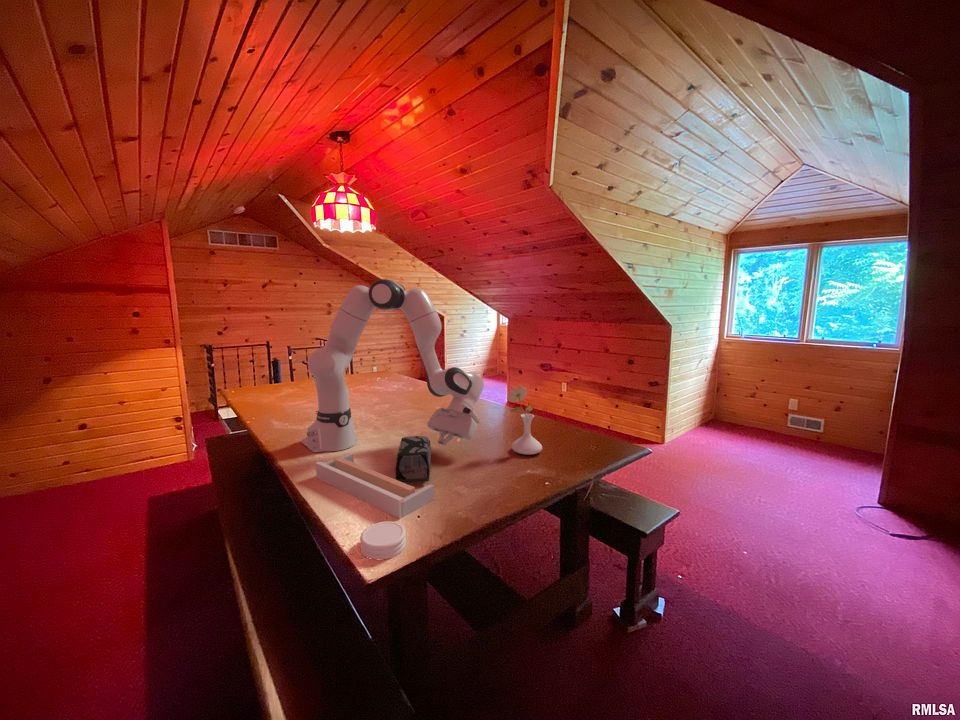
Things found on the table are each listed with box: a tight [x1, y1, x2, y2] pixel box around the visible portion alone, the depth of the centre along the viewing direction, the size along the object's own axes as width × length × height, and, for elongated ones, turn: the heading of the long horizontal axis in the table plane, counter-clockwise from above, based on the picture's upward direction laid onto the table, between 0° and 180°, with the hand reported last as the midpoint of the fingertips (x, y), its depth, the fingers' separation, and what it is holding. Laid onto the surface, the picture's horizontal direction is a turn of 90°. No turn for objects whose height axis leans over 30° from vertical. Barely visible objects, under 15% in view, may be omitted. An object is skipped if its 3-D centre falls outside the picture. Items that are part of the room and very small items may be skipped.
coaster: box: [359, 521, 407, 560], centre depth 87 cm, size 10×10×4 cm
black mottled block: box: [394, 435, 432, 483], centre depth 127 cm, size 11×25×10 cm, turn 6°
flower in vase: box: [507, 385, 543, 456], centre depth 141 cm, size 13×11×25 cm
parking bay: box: [314, 453, 435, 520], centre depth 114 cm, size 39×12×5 cm, turn 53°
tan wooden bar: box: [333, 456, 416, 498], centre depth 114 cm, size 35×2×5 cm, turn 53°
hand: (441, 444), depth 139 cm, fingers closed
